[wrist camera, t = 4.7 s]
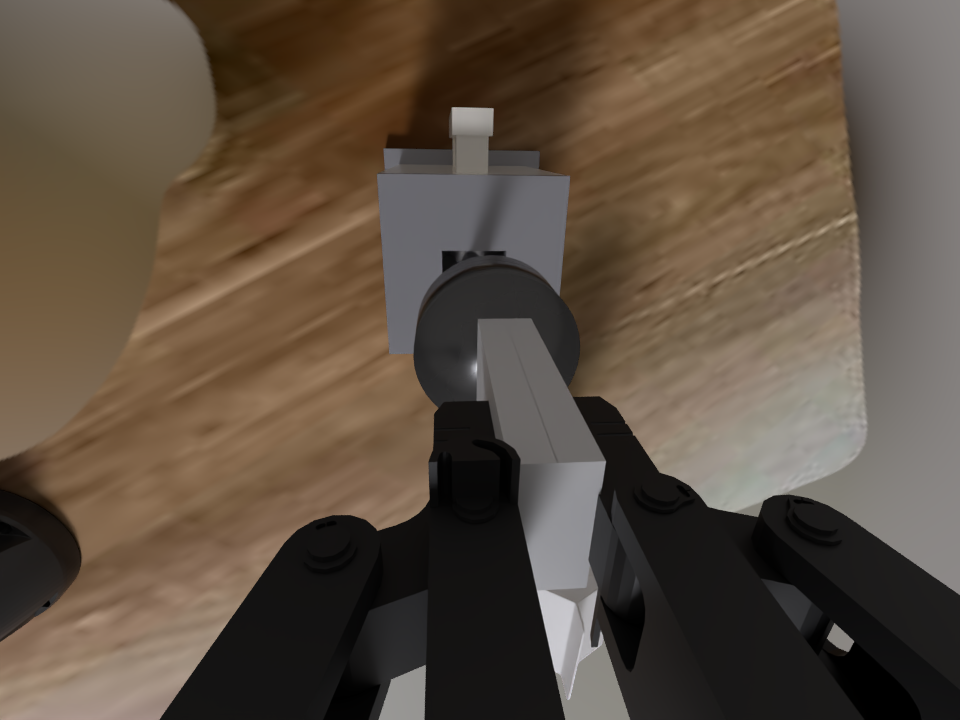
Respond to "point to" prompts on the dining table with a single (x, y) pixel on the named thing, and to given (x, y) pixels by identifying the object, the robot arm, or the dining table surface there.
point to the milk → (569, 627)
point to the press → (463, 214)
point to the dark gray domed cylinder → (484, 295)
